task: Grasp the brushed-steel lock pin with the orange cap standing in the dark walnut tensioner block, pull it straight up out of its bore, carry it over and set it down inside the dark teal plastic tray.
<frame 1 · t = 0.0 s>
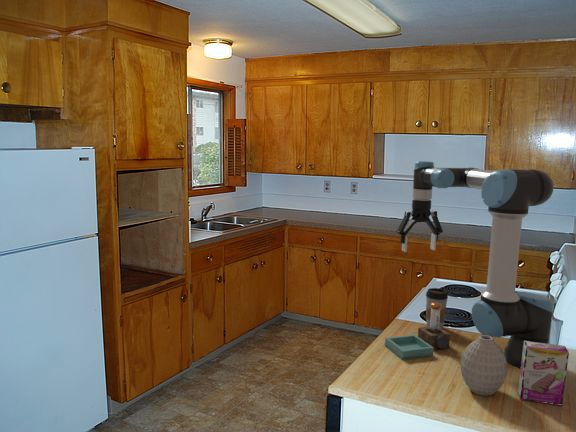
hand: (418, 250, 210), 28 cm above the countertop, fingers open, 13 cm apart
tray: (408, 350, 179), on the countertop
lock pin: (434, 323, 184), in the tensioner block
coffee cup: (434, 327, 201), on the countertop
candy bar box: (539, 400, 147), on the countertop
vase: (481, 391, 152), on the countertop
tensioner block: (433, 343, 185), on the countertop
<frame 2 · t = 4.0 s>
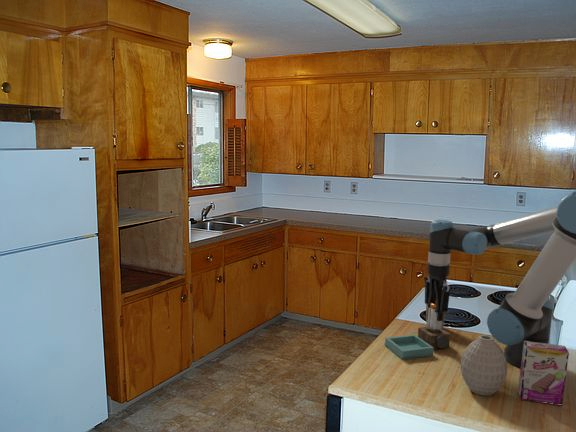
hand: (434, 326, 184), 7 cm above the countertop, fingers closed on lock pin, 3 cm apart
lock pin: (434, 323, 184), in the tensioner block, touching gripper
everything else where it was.
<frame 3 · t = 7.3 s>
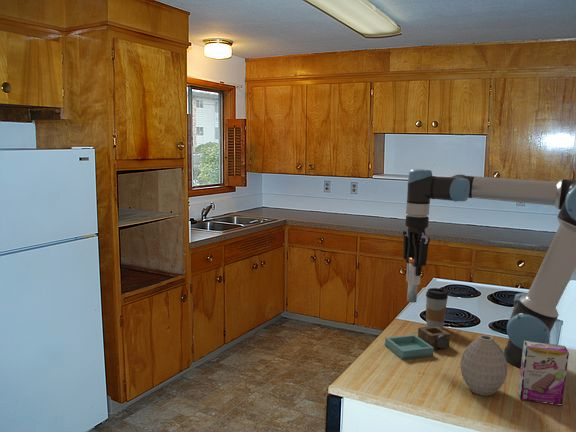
hand: (412, 282, 175), 25 cm above the countertop, fingers closed on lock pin, 3 cm apart
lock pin: (413, 279, 175), point 26 cm above the countertop, touching gripper
everything else where it was.
when the fingers open (9 cm above the countertop, at t = 10.5 s): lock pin drops 2 cm, resting on tray.
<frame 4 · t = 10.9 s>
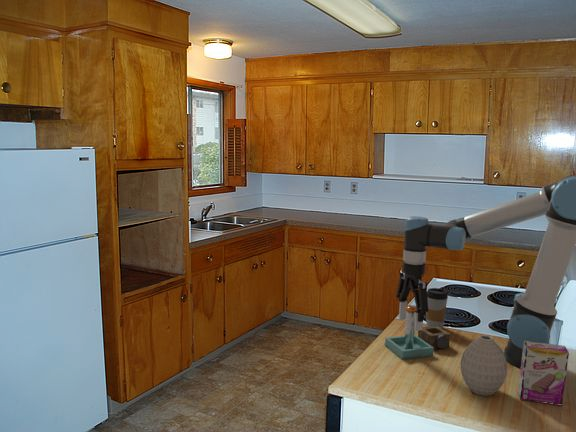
hand: (410, 324, 177), 10 cm above the countertop, fingers open, 9 cm apart
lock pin: (410, 327, 177), in the tray, point 8 cm above the countertop
everything else where it was.
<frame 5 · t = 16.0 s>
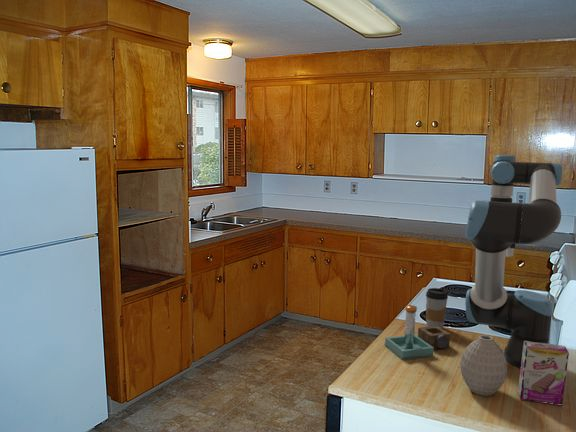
hand: (496, 252, 193), 32 cm above the countertop, fingers open, 13 cm apart
nothing on the countertop moved.
at the end: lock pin inside the target area on the tray (0.0 cm from its centre), point 8.4 cm above the tray's base; the gripper is holding nothing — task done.
